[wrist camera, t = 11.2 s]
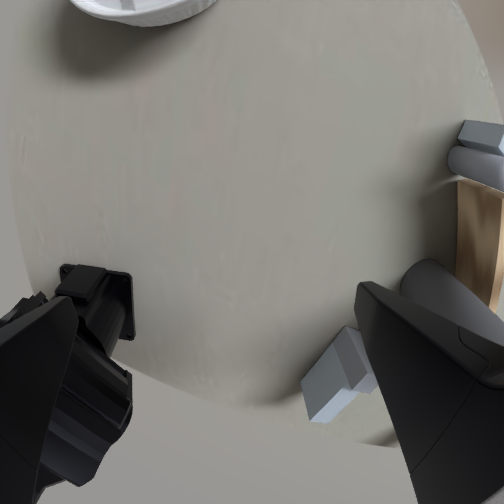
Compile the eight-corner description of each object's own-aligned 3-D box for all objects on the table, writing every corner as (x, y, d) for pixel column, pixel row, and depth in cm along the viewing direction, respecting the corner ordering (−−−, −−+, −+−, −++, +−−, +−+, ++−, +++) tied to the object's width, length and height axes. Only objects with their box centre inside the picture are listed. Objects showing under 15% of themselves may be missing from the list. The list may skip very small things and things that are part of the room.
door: (457, 180, 20) (501, 199, 15) (474, 176, 20) (518, 194, 15) (449, 319, 26) (477, 352, 21) (464, 312, 26) (493, 343, 21)
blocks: (318, 386, 29) (331, 432, 23) (298, 381, 28) (309, 429, 23) (479, 135, 19) (529, 146, 14) (464, 118, 19) (515, 125, 13)
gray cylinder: (414, 314, 26) (479, 403, 15) (390, 287, 25) (465, 384, 14) (449, 279, 25) (526, 357, 14) (429, 248, 23) (520, 328, 12)
